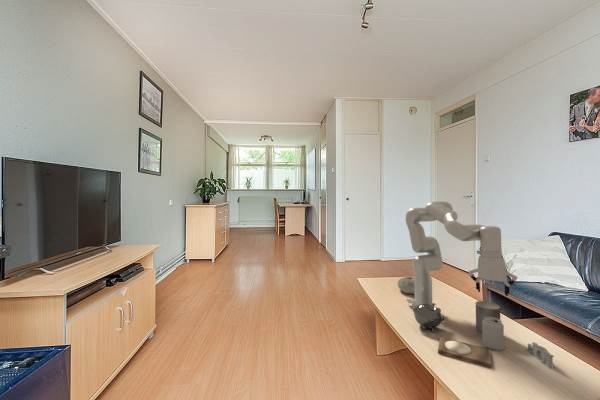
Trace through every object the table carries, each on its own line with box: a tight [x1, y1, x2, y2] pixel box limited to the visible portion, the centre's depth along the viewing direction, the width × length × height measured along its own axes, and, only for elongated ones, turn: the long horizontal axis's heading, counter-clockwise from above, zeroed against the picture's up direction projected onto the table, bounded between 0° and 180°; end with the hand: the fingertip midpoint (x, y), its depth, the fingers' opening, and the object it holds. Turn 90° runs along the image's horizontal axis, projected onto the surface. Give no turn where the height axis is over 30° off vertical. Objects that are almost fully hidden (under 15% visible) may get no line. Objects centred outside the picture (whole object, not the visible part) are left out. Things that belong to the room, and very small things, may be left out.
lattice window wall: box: [527, 341, 555, 369], centre depth 102 cm, size 12×2×6 cm, turn 170°
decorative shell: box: [397, 276, 415, 295], centre depth 179 cm, size 18×18×10 cm
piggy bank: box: [412, 302, 445, 331], centre depth 129 cm, size 11×15×12 cm
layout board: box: [437, 336, 492, 368], centre depth 107 cm, size 18×12×2 cm, turn 57°
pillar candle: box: [475, 300, 501, 336], centre depth 123 cm, size 10×10×15 cm
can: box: [482, 317, 505, 351], centre depth 111 cm, size 8×8×12 cm
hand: (492, 293), depth 112 cm, fingers open, 9 cm apart
